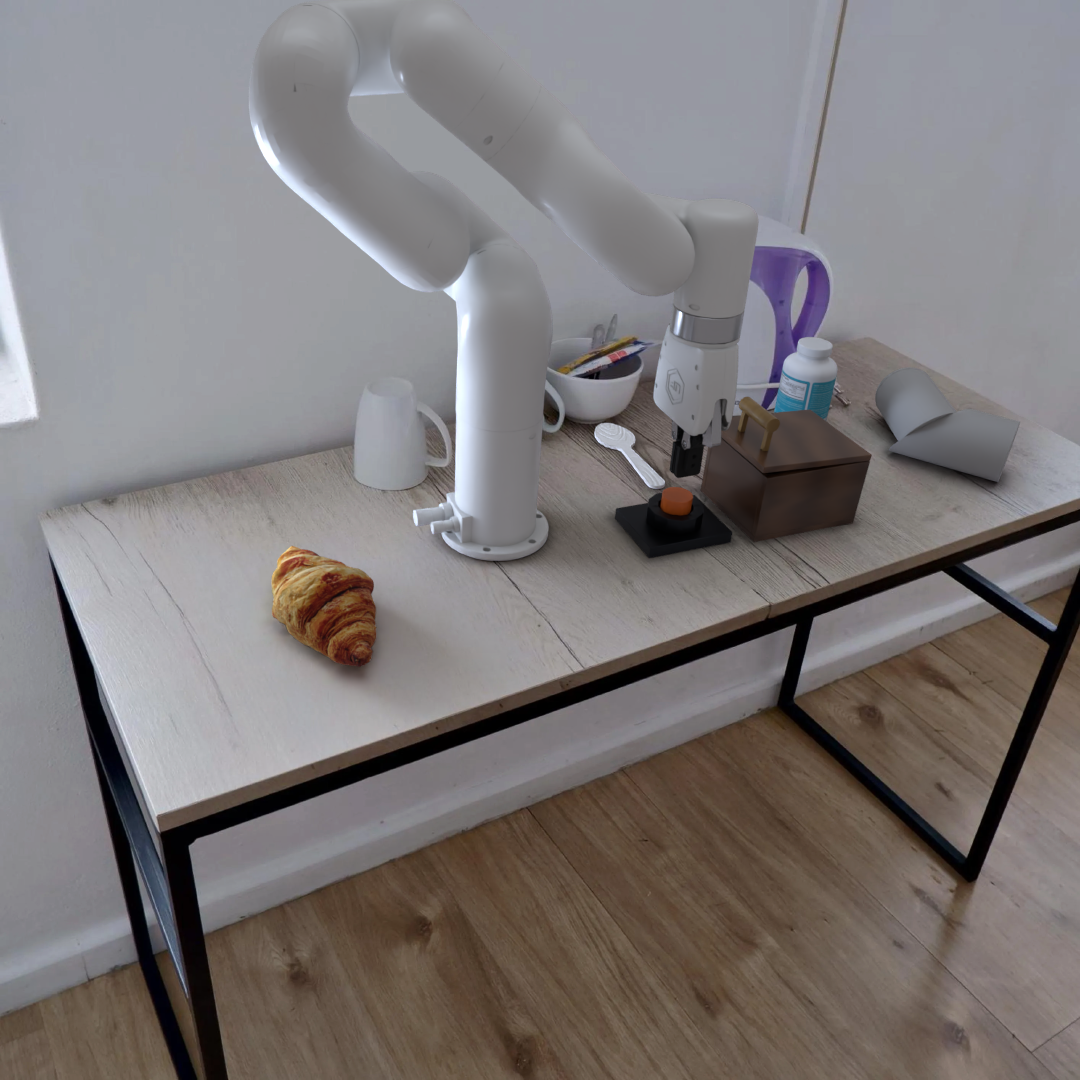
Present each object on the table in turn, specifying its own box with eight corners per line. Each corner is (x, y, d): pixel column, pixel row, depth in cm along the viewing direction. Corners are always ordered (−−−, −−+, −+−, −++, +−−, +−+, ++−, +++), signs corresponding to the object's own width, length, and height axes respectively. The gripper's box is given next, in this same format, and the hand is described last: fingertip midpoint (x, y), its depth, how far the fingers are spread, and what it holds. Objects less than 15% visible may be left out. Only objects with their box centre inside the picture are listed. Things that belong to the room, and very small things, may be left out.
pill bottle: (819, 422, 149) (839, 335, 141) (826, 445, 142) (848, 356, 135) (768, 417, 149) (786, 330, 141) (772, 440, 143) (791, 350, 135)
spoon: (640, 491, 128) (641, 487, 128) (586, 427, 142) (586, 424, 142) (678, 486, 130) (678, 482, 130) (620, 423, 144) (621, 420, 144)
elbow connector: (844, 446, 140) (994, 490, 132) (866, 372, 136) (1022, 412, 128) (869, 426, 154) (1006, 464, 147) (890, 358, 151) (1031, 393, 143)
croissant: (267, 597, 111) (225, 552, 105) (340, 541, 113) (303, 494, 107) (342, 713, 96) (298, 667, 90) (426, 646, 98) (388, 597, 92)
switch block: (649, 558, 116) (652, 533, 114) (614, 518, 123) (617, 493, 121) (730, 542, 120) (735, 517, 118) (692, 504, 127) (697, 480, 125)
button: (669, 518, 118) (671, 504, 116) (654, 503, 120) (656, 489, 119) (696, 514, 119) (698, 499, 118) (681, 498, 122) (683, 484, 120)
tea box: (753, 542, 120) (767, 478, 115) (700, 490, 130) (710, 429, 125) (853, 523, 125) (870, 461, 120) (794, 474, 135) (808, 415, 130)
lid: (762, 473, 115) (773, 433, 112) (706, 424, 124) (714, 386, 121) (870, 460, 120) (882, 422, 118) (808, 414, 130) (818, 378, 127)
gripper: (642, 301, 111) (626, 448, 121) (711, 353, 100) (688, 511, 110) (701, 295, 114) (681, 439, 124) (775, 345, 102) (746, 499, 113)
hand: (684, 472), depth 117 cm, fingers closed
